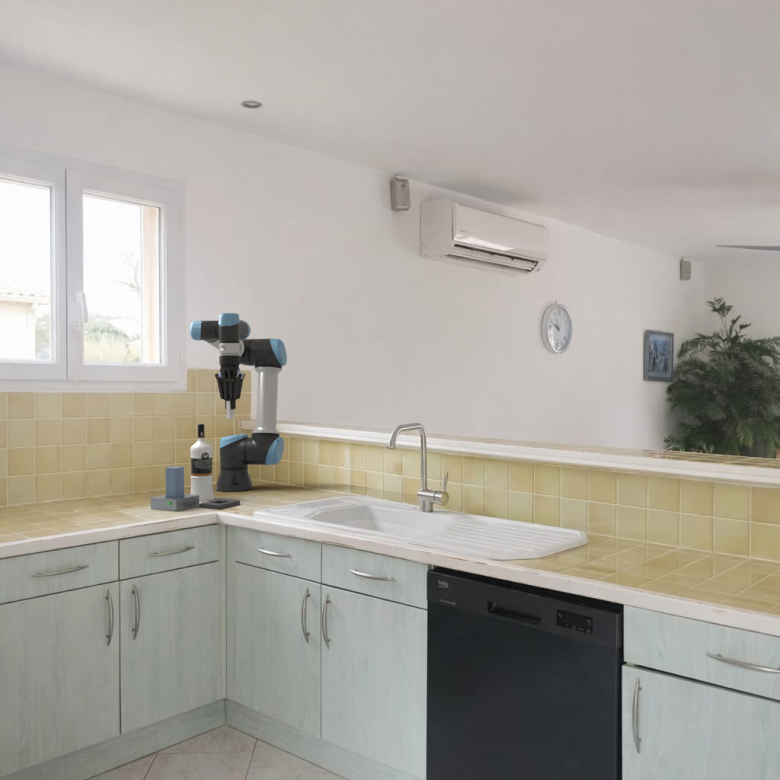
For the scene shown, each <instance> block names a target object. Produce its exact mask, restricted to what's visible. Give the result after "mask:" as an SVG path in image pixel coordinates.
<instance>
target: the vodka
mask: <svg viewBox="0 0 780 780" xmlns="http://www.w3.org/2000/svg"><path fill="white" fill-rule="evenodd" d="M205 429H206V428H205V424H204V423H199V424H197V441H196V442H195V443H194V444H193V445H191V447H190V449H189V451H190V456H189V457H190V494H192V495H199V502H209V501H213V500H215V494H214V493H215V492H214V489H213V487H214V486H213V477H214V475H213V449H214V448H213V446H212V445H211V444H209V442H207V441H206V439H205V433H206V431H205Z"/></svg>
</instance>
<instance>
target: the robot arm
mask: <svg viewBox="0 0 780 780" xmlns="http://www.w3.org/2000/svg"><path fill="white" fill-rule="evenodd" d="M189 333H190V336H191V339H192V340H194V341H204V342H206V343H208V344H209V345H211V346H212V347H213V348H216V349H217V350H218V352H219V356H218V359H219V361H218V363H219V366H220V369H219V371H218V372H217V373H215V374H214V377H215V379H216V382H217V388H218V392H219V393H218V394H219V396H220V397H219V398H220V399H221V400H223V401H224V408H225V410H226V419H227V420H228V419H235V410H236V406H237V403H236V402H237V400H240V399H241V394H242V389H243V388H242V387H243V384H244V383H243V382H244V379H245V377H246V374H245V373H243V372H241V368H240V366H241V365H243V366H247V367H248V366H249V367H251V366H252V367H254V370H255V372H257V385H256V386H257V389H256V390H257V391H256V392H257V394H256V413H255V414H256V416H255V429H254V430H253V431H252V433H251V437H250V436H249V435H248V434H247V433H239V434H233V435H227V436H223V437H220V440H219V441H220V442H219V475H218V478H217V481H216V484H215V490H216V491H219V492H245V491H250V490H252V489H253V482H252V479H251V476H250V472H249V465H250V466H256V465H257V466H272V465H274V466H275V465H278V464H279V463H280V462H281V460H282V457H283V455H284V450H285V449H284V448H285V446H284V445H285V443H284V442H285V441H284V439H283V437H281V436H280V432H279V431H278V430H277V416H278V415H277V413H278V412H277V411H278V392H279V391H278V389H279V388H278V386H279V385H278V384H279V374H280V373H281V372H282V371H283V367H284V366H286V365H287V361H288V358H287V355H288V354H287V349H286V346H285V343H284V342H283V340H281V338H271V337H270V338H249V337H250V335H251V333H252V332H251V327H250V324H249V323H248V322H246V321H245V320H243V319H240V314H239V313H236V312H223V313H220V314H219V316H218V320H201V319H200V320H194V321H192V322H191V323H190V327H189Z"/></svg>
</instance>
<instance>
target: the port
mask: <svg viewBox="0 0 780 780" xmlns="http://www.w3.org/2000/svg"><path fill="white" fill-rule="evenodd" d="M199 504H200V501H199V495H192V494H189V493H184V496H183V497H178V498H170V497H166V494H162V495H157V496H152V497H150V509H151V510H161V511H168V512H169V511H170V512H179V511H184V510H187V509H194V508H196V507H198V508H199Z"/></svg>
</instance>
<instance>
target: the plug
mask: <svg viewBox="0 0 780 780" xmlns="http://www.w3.org/2000/svg"><path fill="white" fill-rule="evenodd" d="M184 494H185V467H184V466H174V465H173V466H168V467H165V495H166V497H170V498H178V497H183V496H184Z"/></svg>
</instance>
